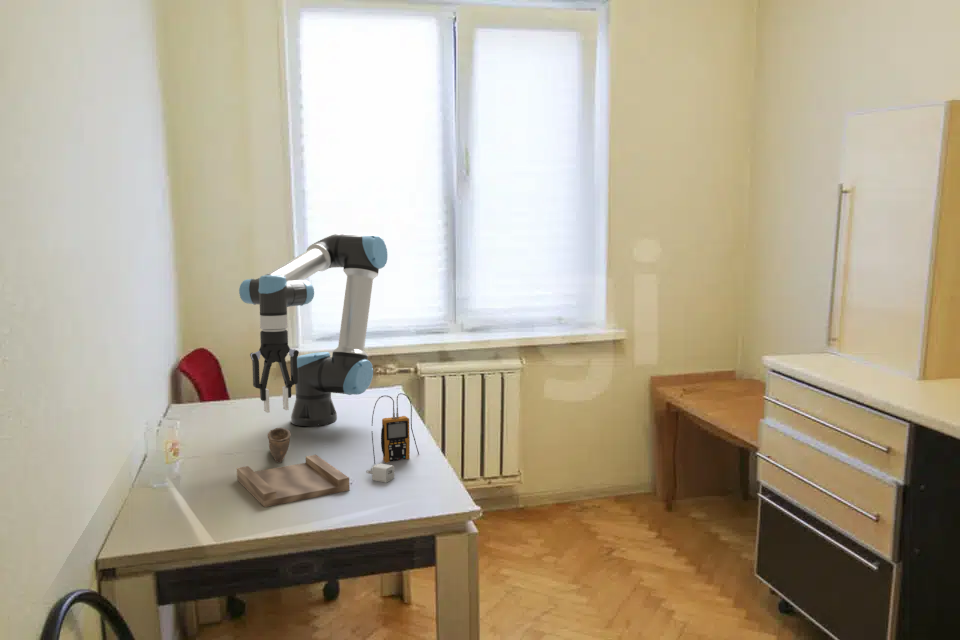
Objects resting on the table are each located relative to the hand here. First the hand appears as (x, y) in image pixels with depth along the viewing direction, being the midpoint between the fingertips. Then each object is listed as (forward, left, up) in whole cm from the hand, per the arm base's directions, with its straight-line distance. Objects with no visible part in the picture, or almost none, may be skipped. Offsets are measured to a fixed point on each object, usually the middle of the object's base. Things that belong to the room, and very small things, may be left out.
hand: (276, 410), depth 219 cm
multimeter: (-28, +24, -15) cm, 39 cm away
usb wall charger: (-18, +31, -15) cm, 39 cm away
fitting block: (+3, +23, -15) cm, 27 cm away
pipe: (-1, -2, -15) cm, 15 cm away
